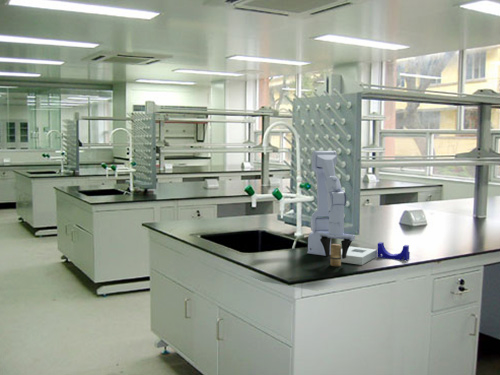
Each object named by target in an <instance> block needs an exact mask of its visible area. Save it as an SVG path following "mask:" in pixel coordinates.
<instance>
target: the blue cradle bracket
mask: <svg viewBox="0 0 500 375" xmlns="http://www.w3.org/2000/svg"><path fill="white" fill-rule="evenodd" d="M409 250H410V245H408V244H404V245H403V246H402V249H401V251H400V252H399V253H391V252H389V251H388V250H387V249H386V248H385V244H384V242H381V241H379V242H378V243H377V257H376V258H380V259H381V258H382V259H389V260H398V261H406V262H407V261H408V260H410V257H411V256H410V255H411V254H410V253H411V252H410V251H409Z"/></svg>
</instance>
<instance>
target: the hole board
mask: <svg viewBox="0 0 500 375" xmlns="http://www.w3.org/2000/svg"><path fill="white" fill-rule="evenodd" d="M377 253H378V249H374V248H367V247H359V246H351V245H350V246H349V248H348V251H347V254H346V258H344V259H342V248H341V263H344V264H345V263H347V264H354V265H360V266H363V265H365V264H366V263H369V261H372V260H374V259H376V258H378V257H377Z"/></svg>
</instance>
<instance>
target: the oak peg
mask: <svg viewBox="0 0 500 375" xmlns="http://www.w3.org/2000/svg"><path fill="white" fill-rule="evenodd" d="M341 249H342V244H339V243H331V254H330V255H329V256H330V261H329V262H330V264H329V266H332V267H341V266H342V262H341Z"/></svg>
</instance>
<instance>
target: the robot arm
mask: <svg viewBox="0 0 500 375" xmlns="http://www.w3.org/2000/svg"><path fill="white" fill-rule="evenodd" d="M337 163H338V153H337V151H336V150H313V151H312V152H311V169H312V171H313V172H315V175H316V203H317V204H316V206H317V209H316V211H314V212H313V213H312V214H311V217H310V230H311V232H309V234H308V238H307V252H306V253H307V254H311V255H318V256H325V257H329V256H331V244H332V239H334V240H335V239H337V240H340V241H341V244H340V245H341V249H342V259H344V258H346V254H347V251H348V248H349V246H351V244H352V243H353V241H356V240H355V239H356V235H355V234H350V233H344V232H345V228H344V227H345V207H346V205H347V201H348V200H347V198H348V197H347V193H346V191H345V190H344V189H342V185H341V180H340V178H339V177H337V176H336V170H335V169H336V168H335V167H336V165H337Z"/></svg>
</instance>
